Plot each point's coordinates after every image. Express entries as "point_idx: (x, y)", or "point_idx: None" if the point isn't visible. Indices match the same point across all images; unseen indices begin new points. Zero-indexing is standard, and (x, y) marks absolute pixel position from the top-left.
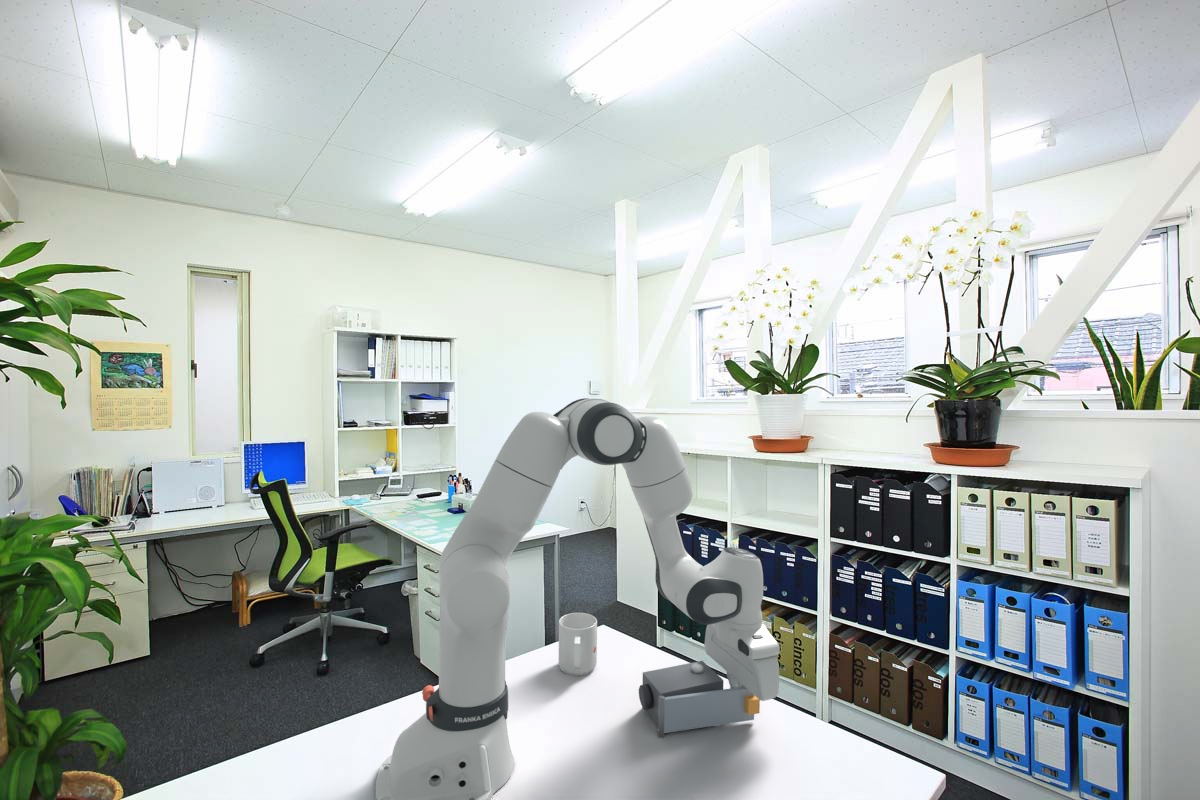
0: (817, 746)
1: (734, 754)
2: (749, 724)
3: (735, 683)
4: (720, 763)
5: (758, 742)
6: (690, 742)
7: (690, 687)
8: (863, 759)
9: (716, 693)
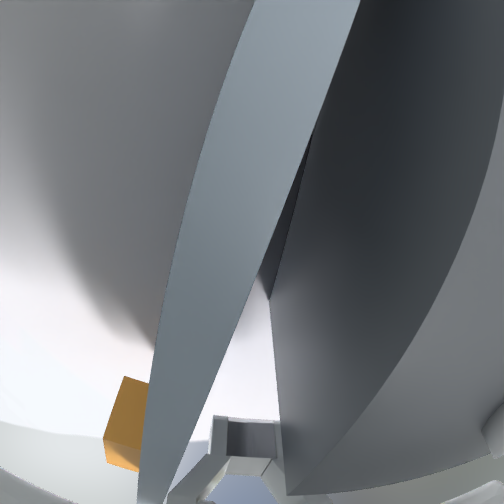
0: (37, 393)
1: (29, 160)
2: None
3: (273, 480)
4: (18, 69)
5: (64, 299)
6: (191, 4)
7: (499, 102)
8: (7, 406)
9: (155, 372)
